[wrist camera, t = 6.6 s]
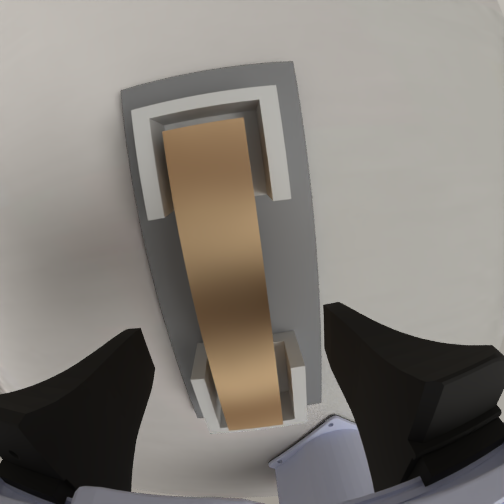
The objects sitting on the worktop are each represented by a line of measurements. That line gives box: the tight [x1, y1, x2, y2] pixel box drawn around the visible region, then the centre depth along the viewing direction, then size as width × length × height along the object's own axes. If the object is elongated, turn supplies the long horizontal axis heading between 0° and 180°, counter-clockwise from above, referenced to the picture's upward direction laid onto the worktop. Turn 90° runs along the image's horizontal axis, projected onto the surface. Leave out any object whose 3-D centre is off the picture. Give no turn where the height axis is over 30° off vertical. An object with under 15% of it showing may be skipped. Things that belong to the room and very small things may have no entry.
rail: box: [162, 117, 283, 431], centre depth 15 cm, size 16×3×4 cm, turn 8°
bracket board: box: [121, 61, 321, 434], centre depth 16 cm, size 24×10×5 cm, turn 8°
